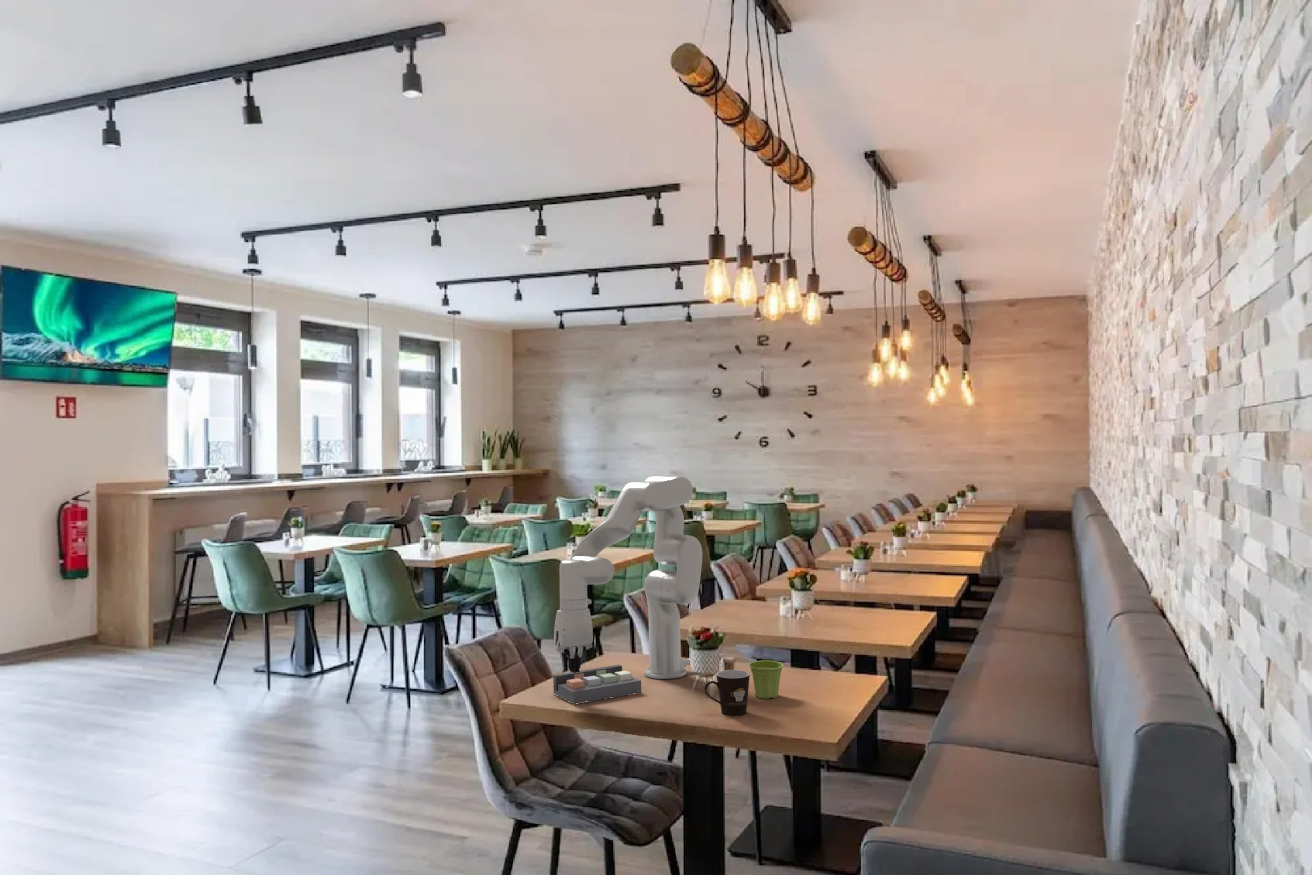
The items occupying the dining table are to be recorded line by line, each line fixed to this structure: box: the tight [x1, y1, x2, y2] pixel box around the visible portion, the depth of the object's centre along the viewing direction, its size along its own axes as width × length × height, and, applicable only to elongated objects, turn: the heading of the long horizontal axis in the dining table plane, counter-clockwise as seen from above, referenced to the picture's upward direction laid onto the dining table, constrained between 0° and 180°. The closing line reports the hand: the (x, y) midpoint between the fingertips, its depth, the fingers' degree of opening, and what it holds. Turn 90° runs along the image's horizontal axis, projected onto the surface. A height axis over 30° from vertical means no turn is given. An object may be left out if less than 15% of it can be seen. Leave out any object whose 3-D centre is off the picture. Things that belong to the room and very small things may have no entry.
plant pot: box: [748, 660, 784, 700], centre depth 259 cm, size 9×9×9 cm
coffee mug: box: [704, 669, 751, 717], centre depth 244 cm, size 12×9×10 cm
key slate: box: [583, 676, 600, 686], centre depth 263 cm, size 4×4×2 cm
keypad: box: [552, 664, 642, 705], centre depth 266 cm, size 21×13×6 cm, turn 121°
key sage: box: [599, 673, 616, 684], centre depth 266 cm, size 4×4×2 cm
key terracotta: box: [567, 678, 584, 689], centre depth 261 cm, size 4×4×2 cm
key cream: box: [614, 670, 633, 681], centre depth 268 cm, size 4×4×2 cm
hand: (574, 671), depth 260 cm, fingers closed
